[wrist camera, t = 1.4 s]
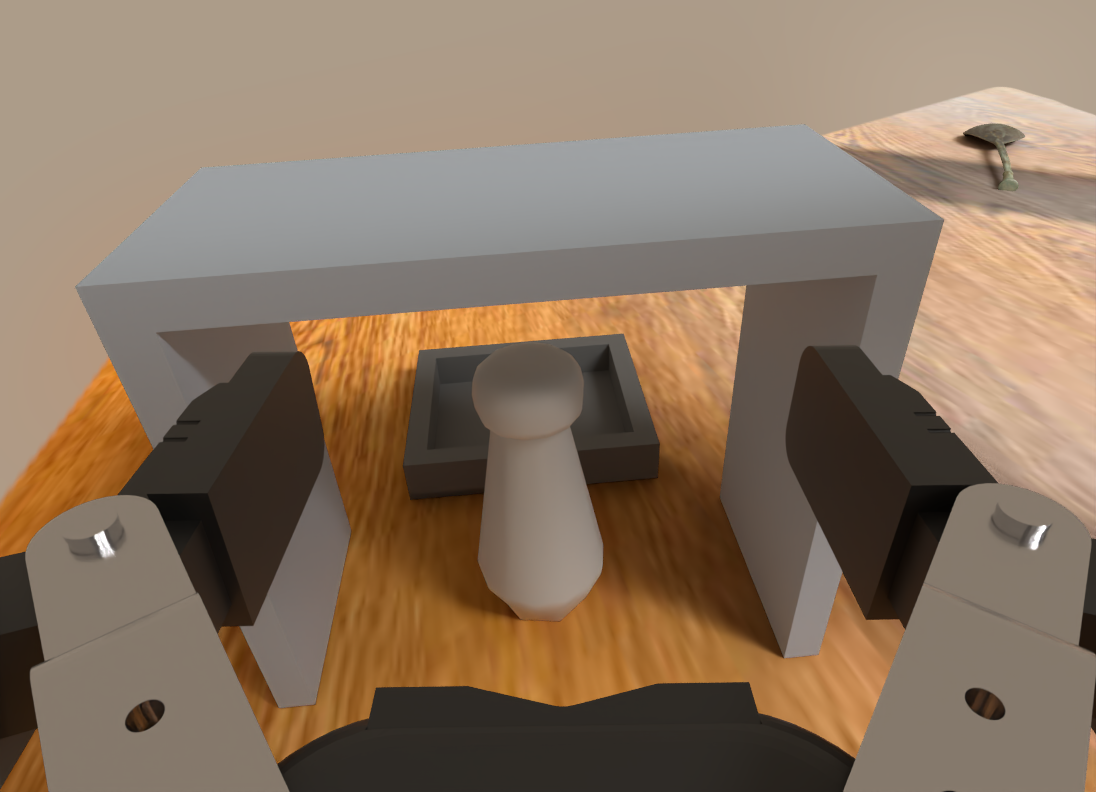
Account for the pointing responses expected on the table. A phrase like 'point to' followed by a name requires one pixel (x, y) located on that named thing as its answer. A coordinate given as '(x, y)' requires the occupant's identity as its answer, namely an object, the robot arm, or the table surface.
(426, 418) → the pit box
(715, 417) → the table surface
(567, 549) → the salt shaker
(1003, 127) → the soupspoon
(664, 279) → the gate
